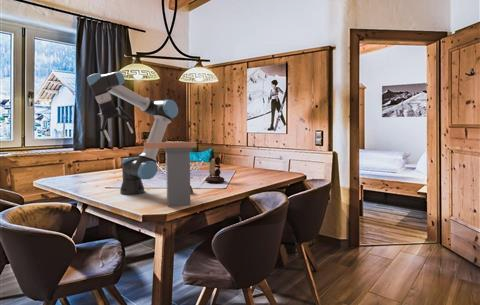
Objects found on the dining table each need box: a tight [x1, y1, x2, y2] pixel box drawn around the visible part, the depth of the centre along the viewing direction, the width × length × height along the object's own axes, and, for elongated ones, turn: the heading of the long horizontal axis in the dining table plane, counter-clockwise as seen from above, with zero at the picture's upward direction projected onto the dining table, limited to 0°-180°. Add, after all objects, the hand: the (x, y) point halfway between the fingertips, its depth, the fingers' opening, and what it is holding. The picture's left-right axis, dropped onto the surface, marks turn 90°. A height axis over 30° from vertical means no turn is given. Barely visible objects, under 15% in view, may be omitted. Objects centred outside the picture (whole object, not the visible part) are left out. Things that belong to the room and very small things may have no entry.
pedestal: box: [163, 148, 193, 208], centre depth 176 cm, size 12×14×32 cm
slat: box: [143, 141, 197, 150], centre depth 173 cm, size 4×28×3 cm, turn 107°
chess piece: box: [205, 155, 225, 184], centre depth 242 cm, size 15×15×20 cm
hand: (121, 136), depth 181 cm, fingers open, 13 cm apart
